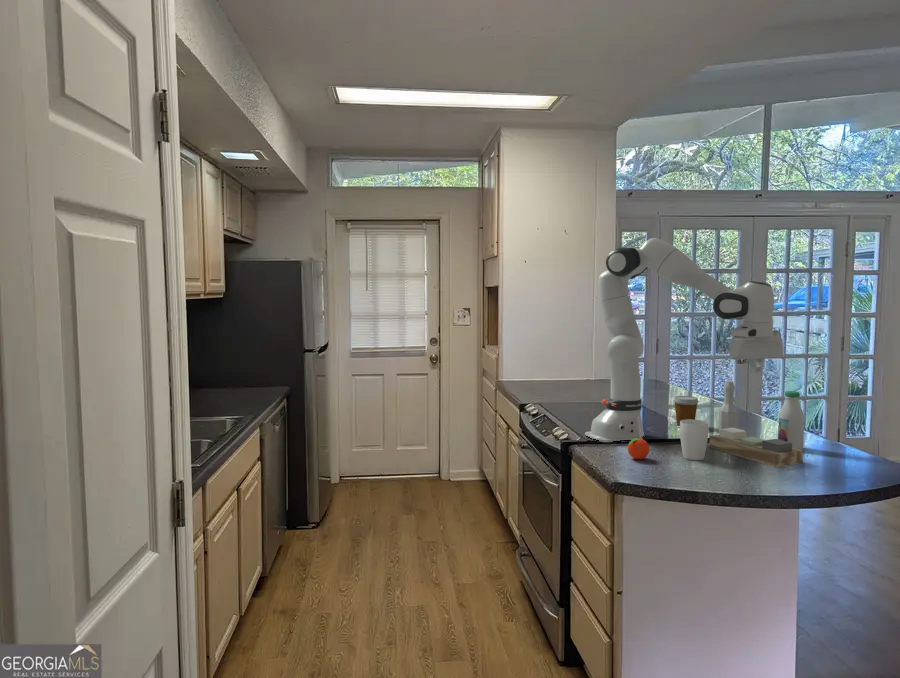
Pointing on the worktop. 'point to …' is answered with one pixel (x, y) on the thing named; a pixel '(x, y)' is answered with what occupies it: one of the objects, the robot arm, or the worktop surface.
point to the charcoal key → (777, 445)
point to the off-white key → (732, 433)
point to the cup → (693, 438)
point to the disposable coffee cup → (685, 408)
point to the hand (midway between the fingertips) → (756, 372)
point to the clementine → (638, 448)
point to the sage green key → (752, 441)
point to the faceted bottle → (728, 408)
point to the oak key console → (756, 452)
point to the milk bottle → (791, 420)
